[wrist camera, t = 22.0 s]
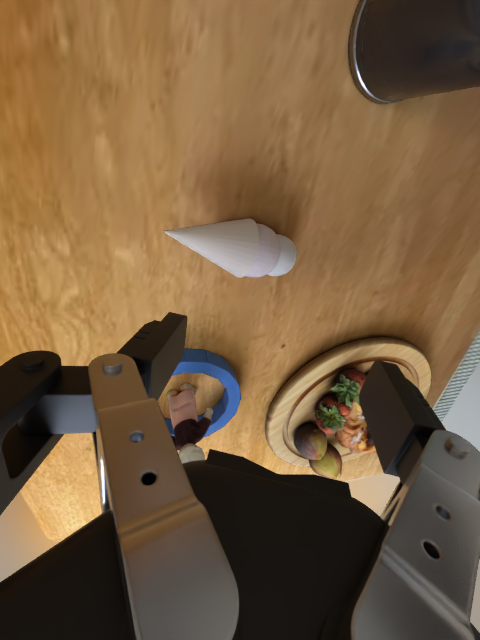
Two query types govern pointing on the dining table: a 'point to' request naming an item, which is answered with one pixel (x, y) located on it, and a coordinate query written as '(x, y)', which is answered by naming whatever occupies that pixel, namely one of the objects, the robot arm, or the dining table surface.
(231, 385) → the tape ring
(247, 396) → the dining table surface
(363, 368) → the wooden plate
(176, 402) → the grandmother figurine
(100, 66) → the dining table surface
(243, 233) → the ice cream cone
